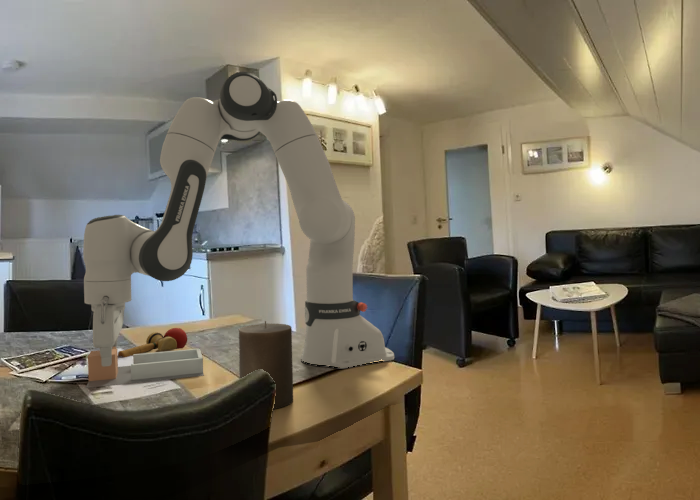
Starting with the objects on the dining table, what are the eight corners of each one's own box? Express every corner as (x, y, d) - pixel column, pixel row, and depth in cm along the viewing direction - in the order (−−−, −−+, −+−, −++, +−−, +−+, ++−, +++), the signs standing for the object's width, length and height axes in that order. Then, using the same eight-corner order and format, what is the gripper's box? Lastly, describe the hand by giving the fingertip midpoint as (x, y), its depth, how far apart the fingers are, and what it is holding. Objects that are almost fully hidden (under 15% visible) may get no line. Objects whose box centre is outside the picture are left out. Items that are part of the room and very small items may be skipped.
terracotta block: (118, 372, 110) (117, 348, 110) (115, 378, 105) (115, 354, 105) (92, 374, 108) (91, 351, 108) (88, 381, 104) (87, 356, 103)
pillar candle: (296, 407, 92) (295, 323, 91) (240, 412, 89) (239, 326, 89) (289, 391, 101) (288, 315, 100) (238, 395, 99) (237, 317, 98)
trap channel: (199, 365, 120) (199, 346, 120) (204, 382, 107) (203, 361, 107) (94, 375, 113) (94, 355, 112) (85, 395, 99) (84, 372, 99)
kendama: (133, 371, 121) (196, 345, 135) (126, 345, 121) (190, 322, 135) (117, 371, 126) (179, 347, 140) (110, 346, 125) (173, 324, 140)
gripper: (120, 299, 98) (121, 371, 99) (128, 287, 117) (129, 347, 118) (83, 301, 96) (84, 374, 97) (97, 288, 115) (99, 349, 116)
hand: (109, 359), depth 107 cm, fingers open, 8 cm apart
